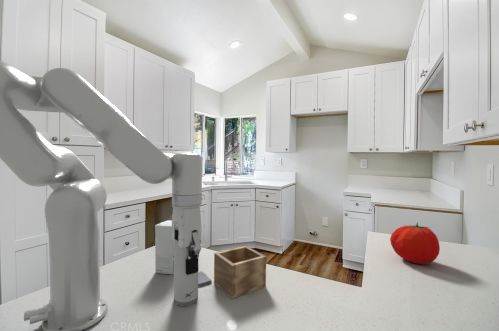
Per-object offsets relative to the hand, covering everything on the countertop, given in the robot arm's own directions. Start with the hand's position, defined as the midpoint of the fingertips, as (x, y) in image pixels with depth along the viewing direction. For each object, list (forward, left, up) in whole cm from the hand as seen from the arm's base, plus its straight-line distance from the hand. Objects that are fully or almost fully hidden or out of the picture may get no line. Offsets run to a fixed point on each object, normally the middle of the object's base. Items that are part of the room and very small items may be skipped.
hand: (186, 267), depth 67 cm
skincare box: (+2, +21, -9) cm, 23 cm away
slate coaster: (+6, +8, -9) cm, 13 cm away
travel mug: (0, 0, -9) cm, 9 cm away
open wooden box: (+16, -1, -9) cm, 18 cm away
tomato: (+79, -22, -9) cm, 82 cm away
